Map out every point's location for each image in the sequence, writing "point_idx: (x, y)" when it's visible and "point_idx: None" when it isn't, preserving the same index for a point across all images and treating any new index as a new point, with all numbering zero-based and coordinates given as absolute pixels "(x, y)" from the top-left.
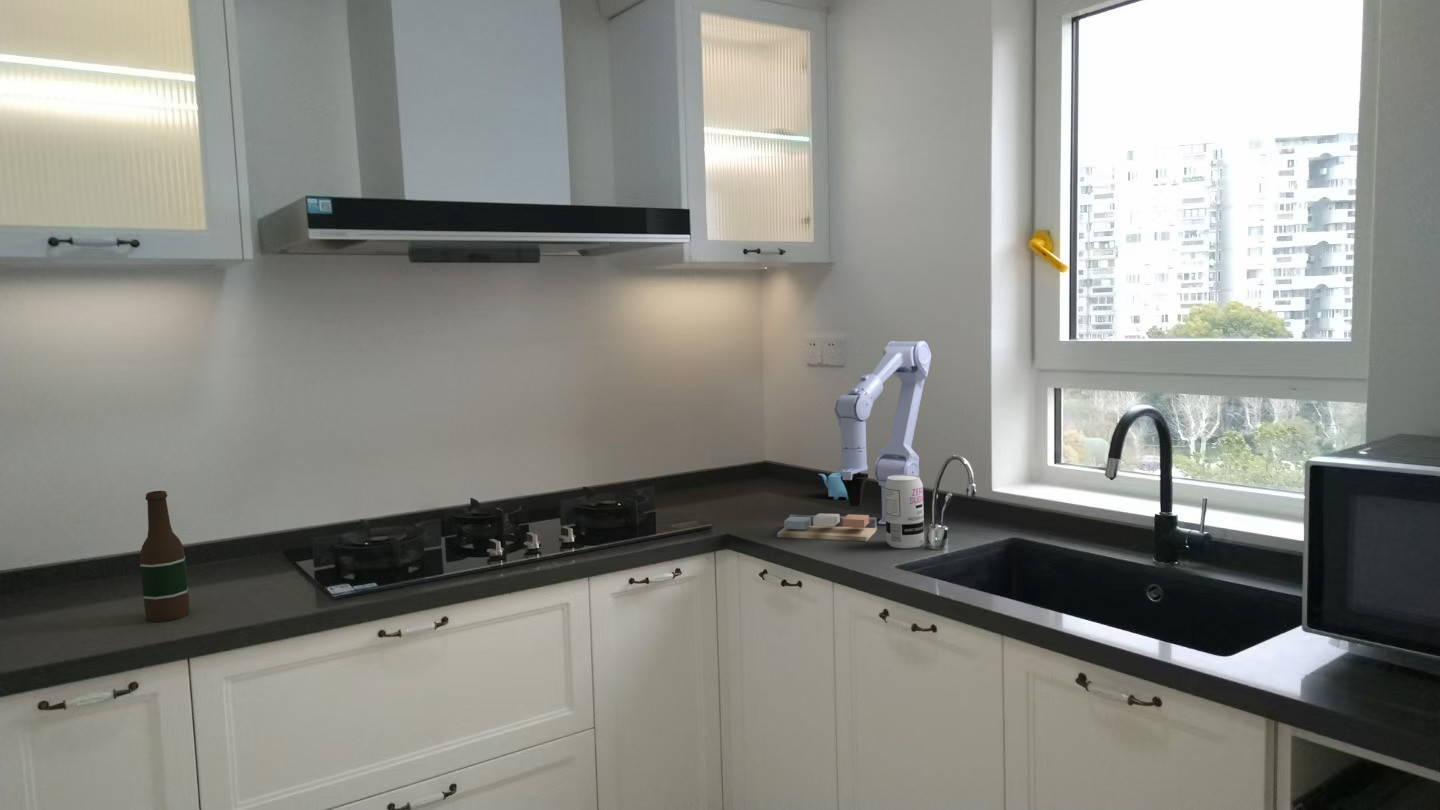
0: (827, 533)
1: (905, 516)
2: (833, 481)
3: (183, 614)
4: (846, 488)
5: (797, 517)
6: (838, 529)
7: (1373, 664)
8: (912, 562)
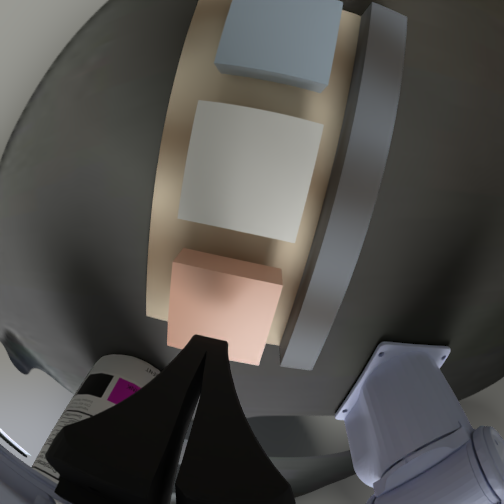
0: (182, 174)
1: None
2: None
3: None
4: (126, 401)
5: (323, 26)
6: None
7: (21, 452)
8: (35, 360)
